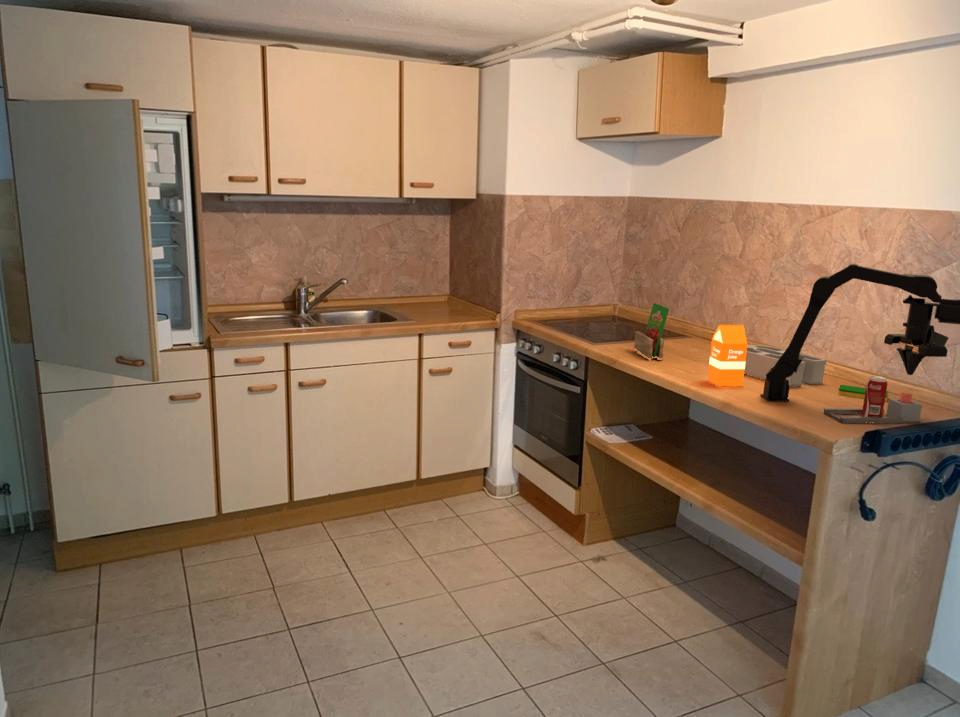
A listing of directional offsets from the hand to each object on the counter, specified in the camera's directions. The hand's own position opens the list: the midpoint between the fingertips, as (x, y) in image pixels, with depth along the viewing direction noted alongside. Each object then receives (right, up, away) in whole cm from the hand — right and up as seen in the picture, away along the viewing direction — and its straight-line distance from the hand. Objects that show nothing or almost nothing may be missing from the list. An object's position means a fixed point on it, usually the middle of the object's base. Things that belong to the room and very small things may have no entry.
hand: (909, 374), depth 211 cm
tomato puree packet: (-58, +5, +75) cm, 95 cm away
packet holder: (-58, +6, +75) cm, 94 cm away
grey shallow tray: (-13, -13, +1) cm, 18 cm away
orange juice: (-41, -4, +35) cm, 54 cm away
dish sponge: (0, -8, +27) cm, 28 cm away
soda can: (-10, -13, +2) cm, 16 cm away
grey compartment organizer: (-20, -2, +49) cm, 53 cm away
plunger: (0, -11, +2) cm, 11 cm away
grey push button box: (0, -13, +3) cm, 13 cm away
